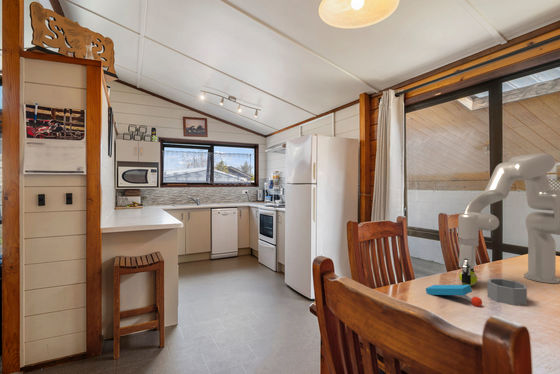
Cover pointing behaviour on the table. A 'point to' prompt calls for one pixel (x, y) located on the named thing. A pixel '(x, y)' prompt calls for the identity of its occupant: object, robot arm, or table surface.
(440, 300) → the table surface
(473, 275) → the tennis ball
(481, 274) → the table surface
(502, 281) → the gray octagonal bowl
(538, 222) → the robot arm
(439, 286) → the lever
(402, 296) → the table surface
